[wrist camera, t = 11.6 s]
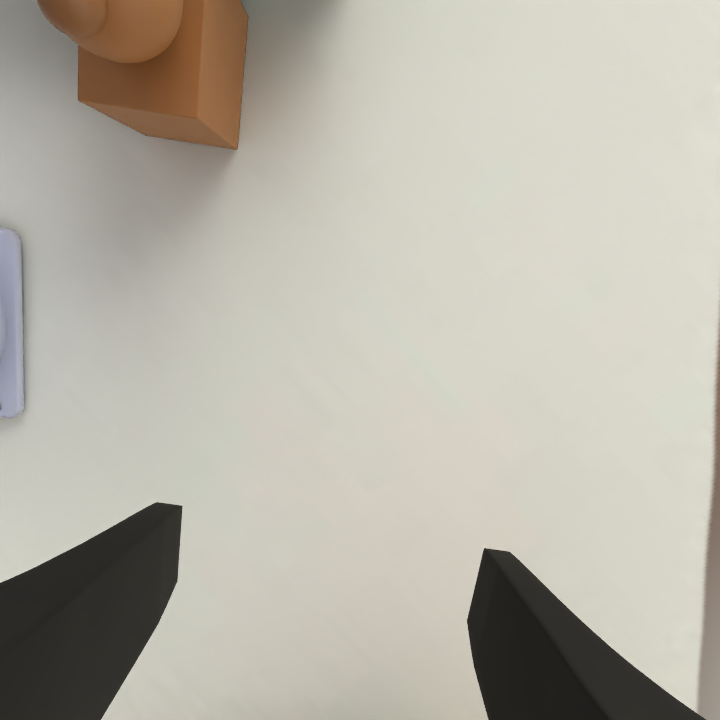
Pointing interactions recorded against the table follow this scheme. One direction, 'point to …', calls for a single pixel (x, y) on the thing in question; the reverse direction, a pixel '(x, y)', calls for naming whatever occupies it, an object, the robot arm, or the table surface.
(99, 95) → the toy bear
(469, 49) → the table surface
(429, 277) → the table surface
